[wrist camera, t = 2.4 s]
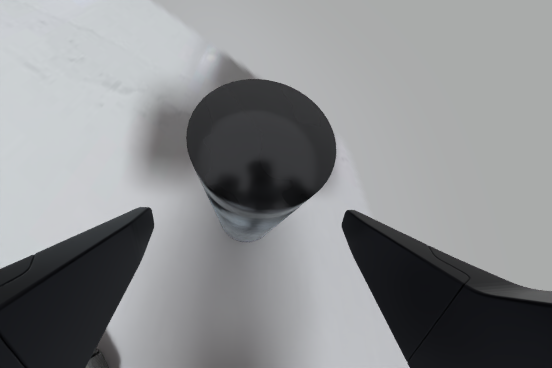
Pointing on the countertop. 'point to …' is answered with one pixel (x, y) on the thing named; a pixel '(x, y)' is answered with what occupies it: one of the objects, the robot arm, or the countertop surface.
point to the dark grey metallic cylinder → (259, 153)
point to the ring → (96, 361)
